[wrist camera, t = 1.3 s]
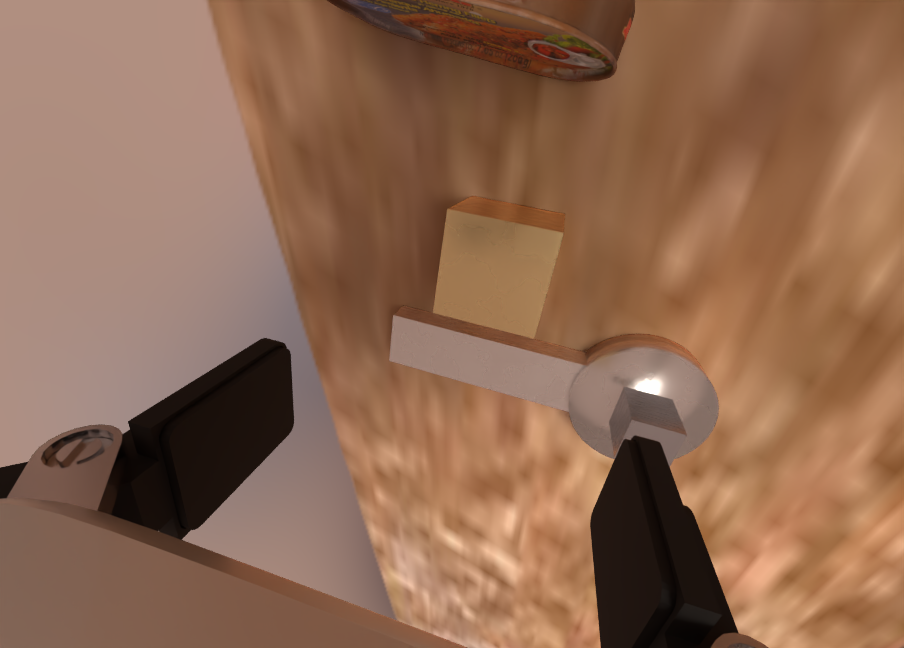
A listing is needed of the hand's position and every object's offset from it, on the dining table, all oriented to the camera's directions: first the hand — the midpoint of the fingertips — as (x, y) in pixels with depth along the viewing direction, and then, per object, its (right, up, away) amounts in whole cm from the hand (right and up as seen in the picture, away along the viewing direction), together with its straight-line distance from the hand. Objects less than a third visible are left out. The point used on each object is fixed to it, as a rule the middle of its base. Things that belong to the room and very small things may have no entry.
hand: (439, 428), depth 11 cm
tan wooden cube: (+4, +8, +15) cm, 18 cm away
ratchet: (+7, 0, +18) cm, 20 cm away
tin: (+2, +20, +11) cm, 22 cm away
